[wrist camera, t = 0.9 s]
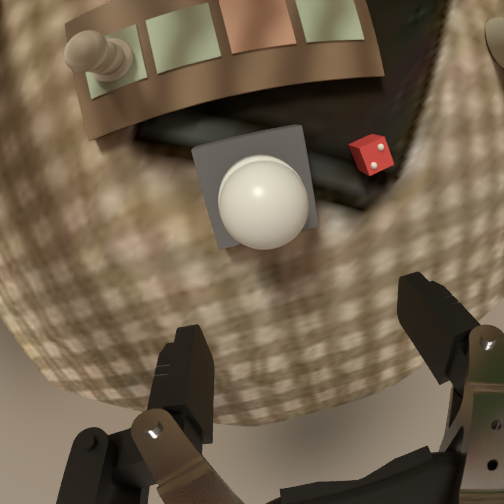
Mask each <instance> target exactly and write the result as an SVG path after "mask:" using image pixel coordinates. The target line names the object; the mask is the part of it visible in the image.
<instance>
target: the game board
mask: <svg viewBox="0 0 504 504" xmlns="http://www.w3.org/2000/svg"><path fill="white" fill-rule="evenodd" d="M65 28H66V36H67V42H69V41H70V39H71V38H72V37H74V36H75V35H76V34H78V33H80V32H82V31H87V30H93V31H97V32H99V33H101V34H102V35H103V36H104V37H105V39H110V38H118V39H121V40H123V41H125V42H126V43H128V44H129V45H130V47H131V48H132V50H133V55H134V58H133V63H132V66H131V68H130V70H129V71H128V72H127V73H126V74H125V75H124V76H123V77H122V78H120V79H119V80H116V81H113V82H103V81H99V80H96V79H95V78H93V77H92V76H91V74H90V72H76V71H73V70H72V71H73V76H74V81H75V86H76V90H77V95H78V99H79V104H80V108H81V112H82V116H83V120H84V124H85V128H86V132H87V135H88V139H89V141H91V140H95V139H97V138H100V137H102V136H105V135H107V134H110V133H112V132H115V131H118V130H120V129H123V128H126V127H128V126H131V125H134V124H137V123H140V122H143V121H146V120H149V119H152V118H155V117H158V116H161V115H164V114H167V113H171V112H174V111H177V110H181V109H184V108H188V107H191V106H195V105H199V104H203V103H207V102H210V101H215V100H219V99H223V98H227V97H232V96H236V95H241V94H245V93H250V92H255V91H261V90H266V89H272V88H277V87H284V86H290V85H297V84H304V83H312V82H320V81H329V80H340V79H352V78H367V77H381V76H384V71H383V66H382V61H381V57H380V52H379V48H378V44H377V40H376V36H375V32H374V28H373V24H372V21H371V17H370V14H369V10H368V7H367V4H366V0H114V1H111V2H109V3H106V4H104V5H102V6H100V7H98V8H95V9H93V10H91V11H89V12H87V13H85V14H83V15H81V16H79V17H77V18H75V19H73V20H71V21H69V22H67V23H66V24H65Z"/></svg>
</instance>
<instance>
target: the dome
mask: <svg viewBox="0 0 504 504" xmlns="http://www.w3.org/2000/svg"><path fill="white" fill-rule="evenodd" d="M218 205H219V211H220V216H221V219H222V222H223V224H224V226H225V228H226V229H227V231H228V232H229V234H230V235H231V236H232V237H233V238H234V239H235V240H237V241H238V242H240V243H241V244H243V245H245V246H247V247H250V248H253V249H259V250H269V249H275V248H278V247H281V246H283V245H285V244H287V243H289V242H290V241H292V240H293V239H294V238H295V237H296V236H297V235H298V234H299V233H300V231H301V230H302V228H303V227H304V225H305V222H306V220H307V216H308V212H309V199H308V194H307V191H306V188H305V186H304V184H303V182H302V180H301V178H300V177H299V175H298V174H297V173H296V172H295V171H294V170H293V169H292V168H291V167H290V166H289V165H288V164H287V163H285V162H284V161H283V160H281V159H279V158H277V157H274V156H270V155H264V154H257V155H251V156H248V157H245V158H243V159H241V160H239V161H237V162H236V163H235V164H233V165H232V166H231V167H230V168H229V169H228V171H227V172H226V173H225V175H224V177H223V179H222V181H221V184H220V189H219V197H218Z"/></svg>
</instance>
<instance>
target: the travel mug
mask: <svg viewBox="0 0 504 504" xmlns="http://www.w3.org/2000/svg"><path fill="white" fill-rule="evenodd" d="M485 33H486V39H487V43H488V46H489V49H490V51H491V53H492V55H493V57H494V58H495V60H496V61H497V63H498V64H499V65H500V66H501V67H502V68H504V17H499V18H493V19H490V20H488V22H487V24H486V28H485Z"/></svg>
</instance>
